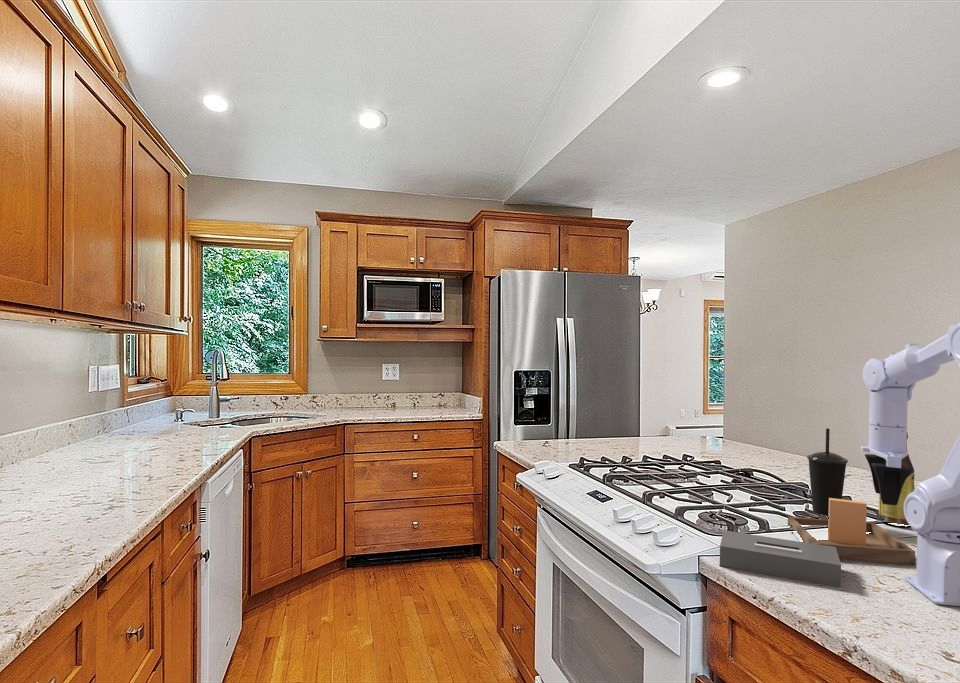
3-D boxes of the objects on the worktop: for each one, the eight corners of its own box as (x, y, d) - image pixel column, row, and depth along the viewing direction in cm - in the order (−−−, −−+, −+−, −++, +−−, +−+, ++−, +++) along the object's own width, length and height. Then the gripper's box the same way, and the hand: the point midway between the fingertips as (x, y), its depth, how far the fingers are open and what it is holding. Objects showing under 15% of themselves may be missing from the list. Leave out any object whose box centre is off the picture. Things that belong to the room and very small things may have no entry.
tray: (914, 565, 103) (915, 551, 103) (815, 557, 106) (815, 543, 106) (873, 534, 119) (873, 522, 119) (787, 528, 122) (787, 516, 122)
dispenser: (835, 567, 102) (835, 545, 102) (840, 586, 94) (841, 563, 94) (723, 548, 110) (723, 528, 110) (719, 565, 102) (720, 544, 102)
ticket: (864, 543, 112) (865, 502, 112) (865, 546, 110) (866, 504, 110) (828, 538, 114) (828, 497, 114) (828, 541, 113) (829, 499, 113)
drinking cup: (798, 517, 130) (799, 427, 129) (820, 513, 133) (822, 425, 132) (831, 527, 123) (833, 432, 122) (854, 523, 126) (856, 430, 125)
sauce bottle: (920, 529, 122) (922, 434, 122) (886, 527, 123) (888, 433, 123) (904, 519, 128) (906, 429, 128) (872, 517, 130) (874, 428, 129)
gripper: (856, 418, 115) (855, 486, 116) (867, 429, 102) (865, 506, 103) (900, 420, 112) (898, 491, 113) (916, 432, 99) (914, 512, 100)
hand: (885, 498), depth 107 cm, fingers open, 7 cm apart
